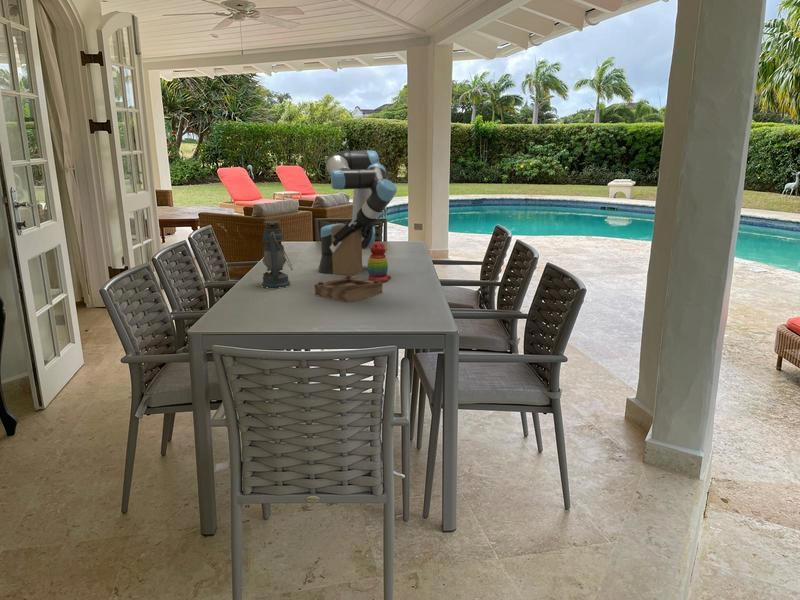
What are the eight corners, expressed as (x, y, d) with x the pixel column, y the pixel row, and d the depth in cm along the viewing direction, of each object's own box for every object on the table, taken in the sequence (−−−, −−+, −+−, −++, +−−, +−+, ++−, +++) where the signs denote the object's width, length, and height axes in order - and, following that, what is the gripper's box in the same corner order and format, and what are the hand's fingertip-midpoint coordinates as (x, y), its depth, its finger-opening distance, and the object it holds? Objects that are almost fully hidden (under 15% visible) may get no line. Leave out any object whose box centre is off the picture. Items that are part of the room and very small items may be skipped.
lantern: (262, 281, 280) (257, 217, 273) (293, 280, 283) (289, 216, 275) (261, 291, 261) (256, 221, 254) (294, 289, 264) (290, 220, 257)
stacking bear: (386, 282, 275) (386, 244, 270) (365, 282, 277) (364, 243, 272) (391, 278, 285) (391, 240, 281) (371, 277, 287) (370, 240, 283)
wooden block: (363, 271, 254) (361, 224, 250) (354, 276, 245) (353, 227, 240) (341, 270, 257) (339, 223, 252) (332, 275, 248) (330, 226, 243)
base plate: (315, 295, 252) (314, 282, 251) (348, 286, 267) (348, 274, 266) (349, 302, 240) (348, 288, 239) (382, 292, 255) (382, 280, 253)
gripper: (352, 223, 227) (326, 258, 240) (394, 217, 245) (368, 250, 258) (342, 208, 229) (316, 244, 242) (384, 203, 247) (358, 237, 260)
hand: (343, 247), depth 250 cm, fingers closed on wooden block, 12 cm apart
